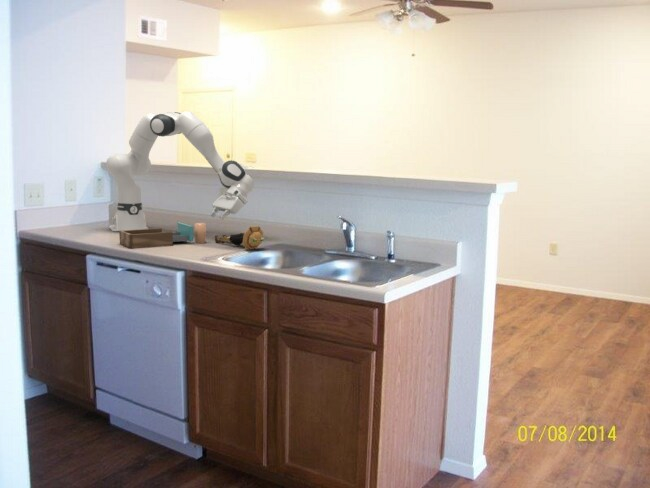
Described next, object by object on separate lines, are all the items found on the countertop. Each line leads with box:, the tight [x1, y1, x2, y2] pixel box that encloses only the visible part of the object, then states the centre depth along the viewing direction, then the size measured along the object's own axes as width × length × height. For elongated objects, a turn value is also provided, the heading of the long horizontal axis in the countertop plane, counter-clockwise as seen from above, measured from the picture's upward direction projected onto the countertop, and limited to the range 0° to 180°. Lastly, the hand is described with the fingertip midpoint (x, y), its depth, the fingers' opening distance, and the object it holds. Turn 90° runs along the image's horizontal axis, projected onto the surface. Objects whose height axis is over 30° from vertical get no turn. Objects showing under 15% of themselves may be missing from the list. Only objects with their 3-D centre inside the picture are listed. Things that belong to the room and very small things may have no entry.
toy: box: [214, 225, 265, 250], centre depth 280 cm, size 18×10×30 cm
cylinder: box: [194, 222, 207, 244], centre depth 287 cm, size 5×5×9 cm
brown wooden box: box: [118, 227, 174, 249], centre depth 278 cm, size 14×19×6 cm
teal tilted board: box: [172, 221, 194, 243], centre depth 283 cm, size 15×19×7 cm
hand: (216, 217), depth 291 cm, fingers open, 8 cm apart
